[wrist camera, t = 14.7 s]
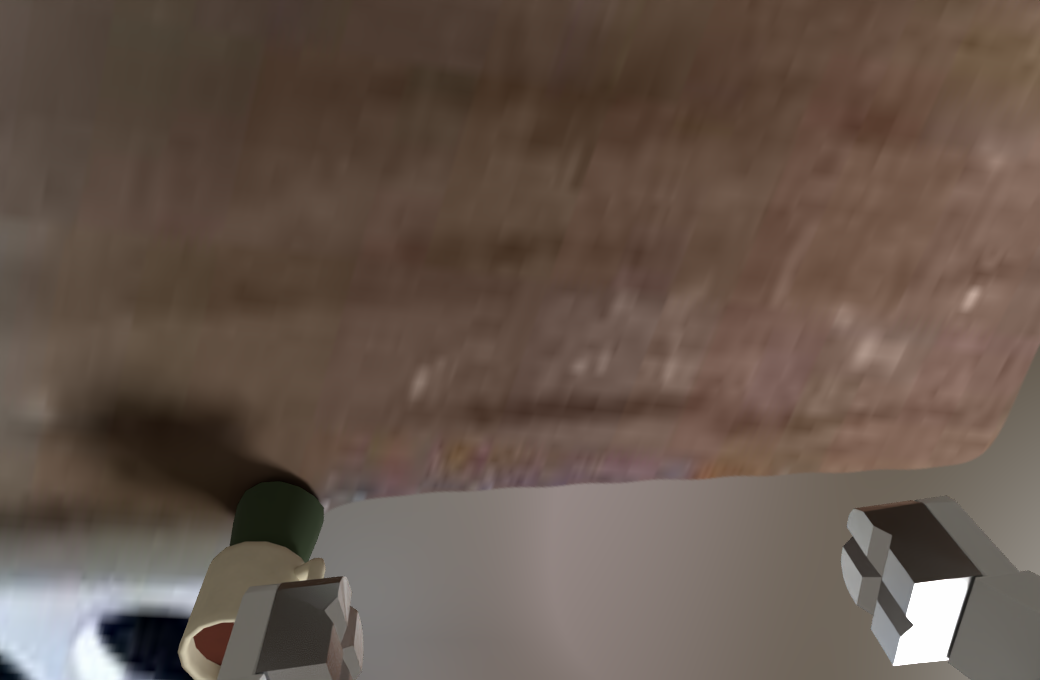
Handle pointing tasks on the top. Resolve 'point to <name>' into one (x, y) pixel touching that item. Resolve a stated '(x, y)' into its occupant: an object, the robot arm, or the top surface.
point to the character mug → (252, 567)
